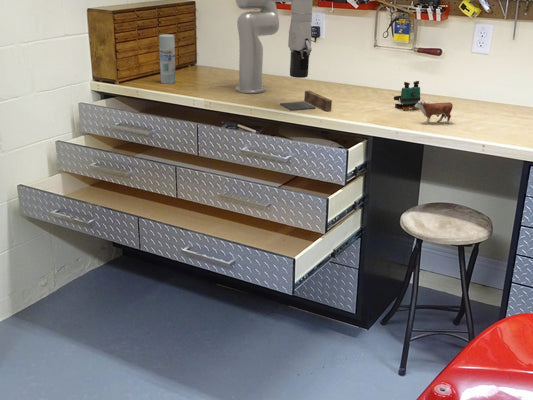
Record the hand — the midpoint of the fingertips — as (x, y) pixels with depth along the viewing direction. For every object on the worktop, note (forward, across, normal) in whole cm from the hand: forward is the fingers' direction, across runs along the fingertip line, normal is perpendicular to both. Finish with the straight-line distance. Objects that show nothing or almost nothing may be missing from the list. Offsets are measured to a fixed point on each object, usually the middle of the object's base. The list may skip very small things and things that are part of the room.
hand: (299, 67), depth 234 cm
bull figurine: (+15, +36, +35) cm, 52 cm away
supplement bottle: (+3, 0, 0) cm, 3 cm away
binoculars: (+15, +14, +39) cm, 44 cm away
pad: (+15, 0, 0) cm, 15 cm away
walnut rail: (+15, +1, +8) cm, 17 cm away
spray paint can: (+15, -58, -34) cm, 69 cm away
